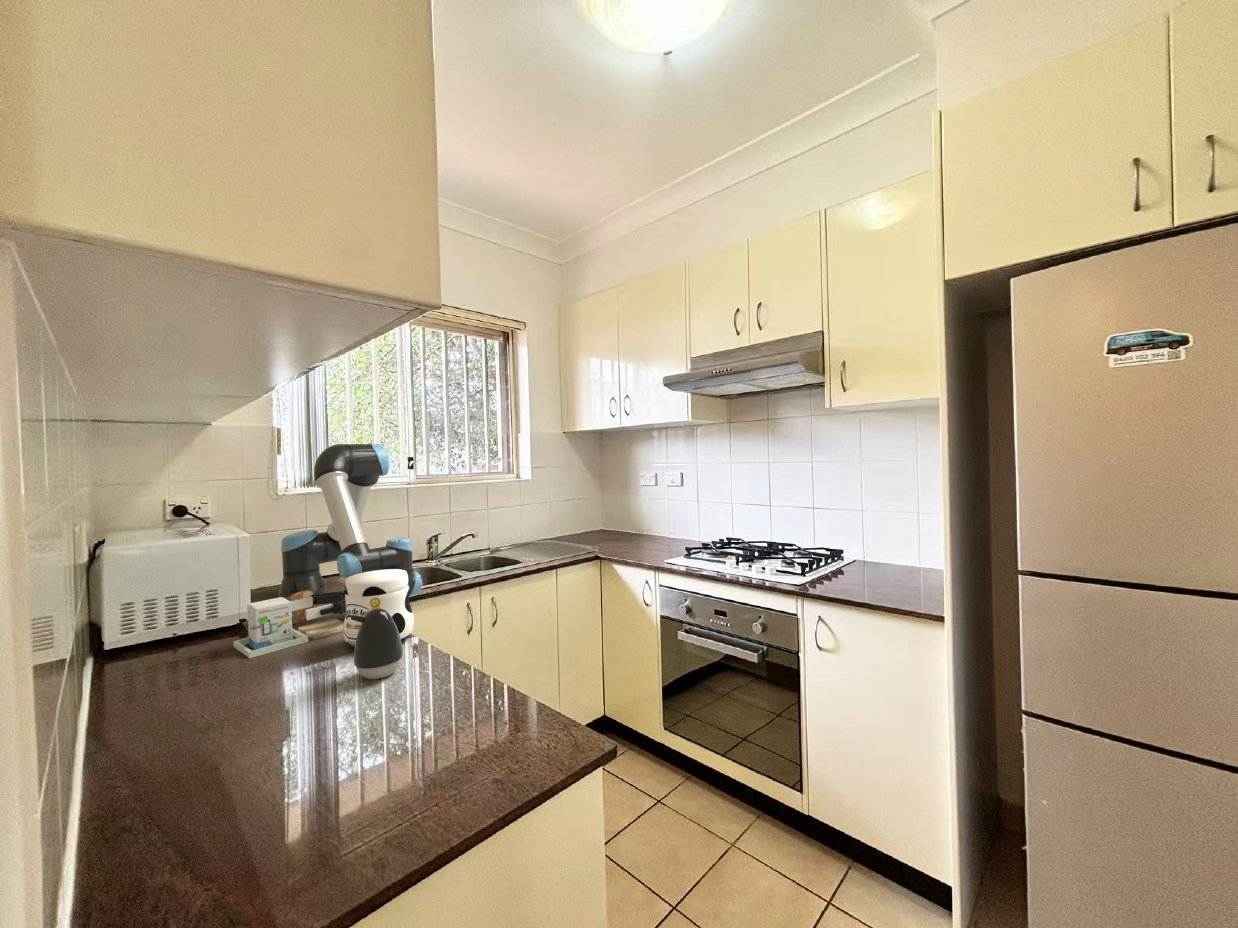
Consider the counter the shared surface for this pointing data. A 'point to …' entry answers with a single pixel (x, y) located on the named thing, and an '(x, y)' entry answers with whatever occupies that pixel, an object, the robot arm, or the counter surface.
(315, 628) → the pad
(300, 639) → the tray
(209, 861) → the counter surface
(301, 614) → the tin
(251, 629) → the ink box
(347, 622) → the milk container
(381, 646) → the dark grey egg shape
